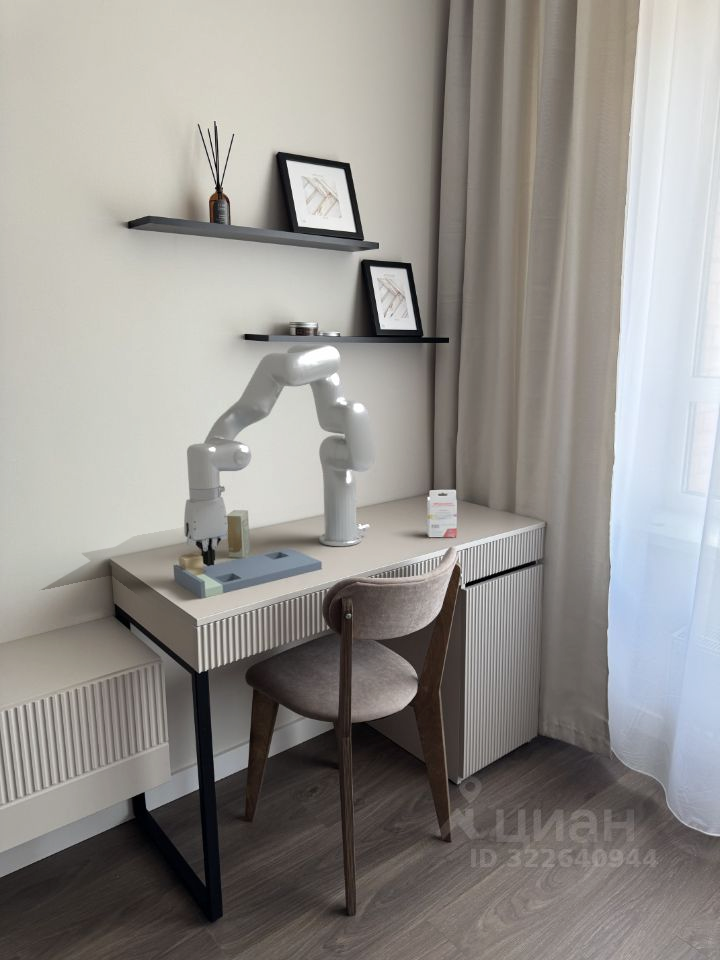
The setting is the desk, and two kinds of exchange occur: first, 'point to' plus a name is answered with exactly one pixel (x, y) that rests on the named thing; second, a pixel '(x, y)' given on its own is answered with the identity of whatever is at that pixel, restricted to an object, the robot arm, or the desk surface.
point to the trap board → (246, 572)
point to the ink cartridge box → (442, 513)
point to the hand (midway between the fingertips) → (208, 564)
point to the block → (192, 563)
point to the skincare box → (238, 533)
